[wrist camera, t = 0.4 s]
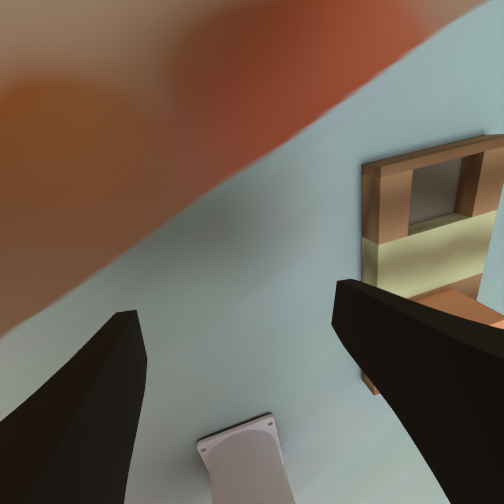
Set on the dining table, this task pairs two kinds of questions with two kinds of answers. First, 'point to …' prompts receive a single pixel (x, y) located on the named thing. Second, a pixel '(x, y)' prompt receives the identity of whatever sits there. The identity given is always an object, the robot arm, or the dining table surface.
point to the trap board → (431, 218)
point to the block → (463, 307)
